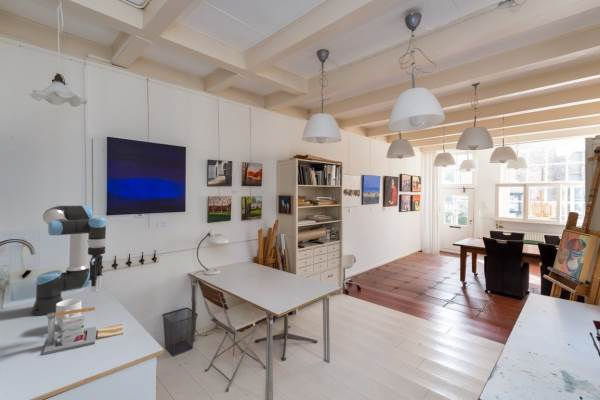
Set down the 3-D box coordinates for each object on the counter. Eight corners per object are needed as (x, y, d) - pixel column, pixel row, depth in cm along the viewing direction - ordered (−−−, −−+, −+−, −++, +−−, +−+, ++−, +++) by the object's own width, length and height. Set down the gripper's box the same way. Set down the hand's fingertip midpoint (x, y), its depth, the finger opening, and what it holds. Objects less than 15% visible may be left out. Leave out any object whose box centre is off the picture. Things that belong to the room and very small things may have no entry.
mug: (79, 330, 152) (79, 306, 152) (52, 335, 146) (53, 310, 146) (81, 319, 164) (82, 297, 164) (57, 323, 158) (57, 300, 158)
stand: (49, 337, 144) (50, 310, 144) (95, 328, 155) (96, 303, 155) (43, 354, 129) (44, 325, 129) (94, 343, 140) (95, 316, 140)
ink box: (81, 335, 147) (81, 313, 147) (83, 339, 144) (84, 316, 144) (59, 342, 140) (60, 318, 140) (62, 345, 137) (62, 321, 137)
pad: (97, 330, 153) (97, 328, 153) (121, 325, 160) (121, 324, 160) (97, 339, 144) (97, 337, 144) (122, 334, 151) (122, 332, 151)
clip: (47, 316, 138) (47, 313, 138) (94, 308, 148) (94, 305, 148) (46, 318, 135) (46, 315, 135) (94, 310, 146) (94, 308, 146)
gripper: (93, 243, 157) (92, 285, 158) (82, 250, 141) (81, 296, 141) (109, 243, 160) (108, 284, 160) (100, 249, 143) (98, 295, 144)
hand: (95, 289), depth 151 cm, fingers open, 5 cm apart
